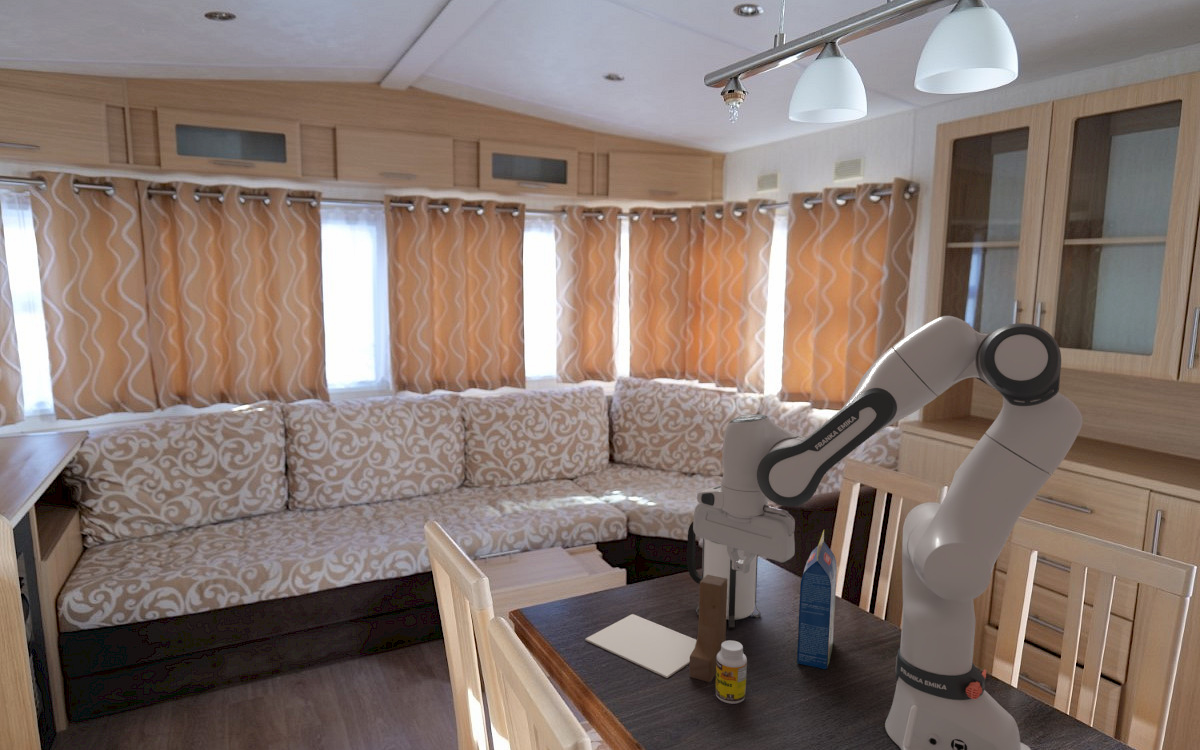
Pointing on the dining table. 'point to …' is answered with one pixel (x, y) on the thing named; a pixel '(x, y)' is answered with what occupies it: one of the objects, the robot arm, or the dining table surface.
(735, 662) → the supplement bottle
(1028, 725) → the dining table surface
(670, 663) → the mat
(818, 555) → the blue food package
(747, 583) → the coffee press
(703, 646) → the wooden block
